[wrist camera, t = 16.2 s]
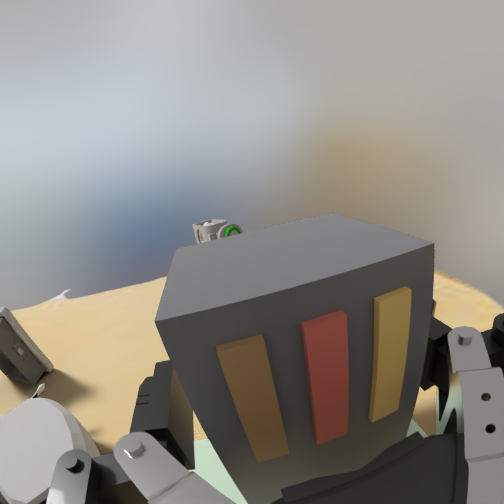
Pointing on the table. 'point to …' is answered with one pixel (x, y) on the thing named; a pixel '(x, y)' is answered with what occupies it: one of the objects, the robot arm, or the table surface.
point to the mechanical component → (214, 230)
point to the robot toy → (36, 448)
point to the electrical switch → (20, 352)
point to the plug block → (300, 345)
